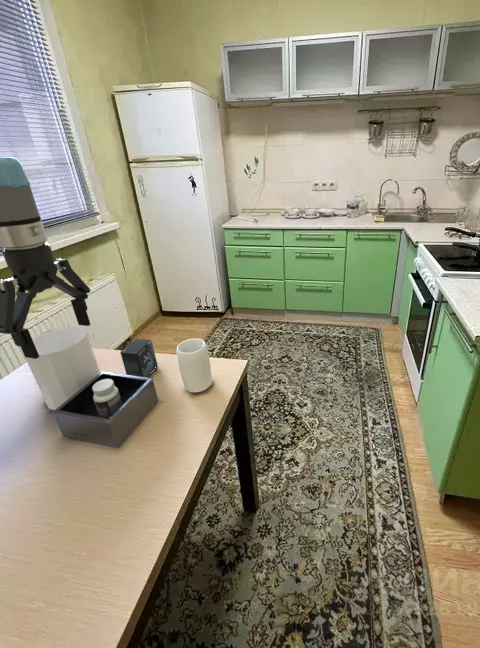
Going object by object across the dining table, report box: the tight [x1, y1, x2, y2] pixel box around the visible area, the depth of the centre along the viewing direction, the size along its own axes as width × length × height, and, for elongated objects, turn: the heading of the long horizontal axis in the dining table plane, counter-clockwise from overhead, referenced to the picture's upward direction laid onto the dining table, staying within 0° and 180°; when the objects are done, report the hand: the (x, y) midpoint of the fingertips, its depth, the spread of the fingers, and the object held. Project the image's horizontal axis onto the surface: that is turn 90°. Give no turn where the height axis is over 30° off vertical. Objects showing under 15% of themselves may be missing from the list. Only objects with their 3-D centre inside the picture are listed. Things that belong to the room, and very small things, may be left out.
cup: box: [176, 338, 213, 393], centre depth 92 cm, size 8×8×14 cm
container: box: [22, 326, 101, 411], centre depth 90 cm, size 14×14×18 cm
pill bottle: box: [92, 379, 123, 419], centre depth 82 cm, size 6×6×10 cm
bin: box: [51, 370, 159, 449], centre depth 83 cm, size 16×16×8 cm
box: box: [120, 338, 159, 378], centre depth 99 cm, size 8×6×11 cm
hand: (60, 339), depth 71 cm, fingers open, 13 cm apart
